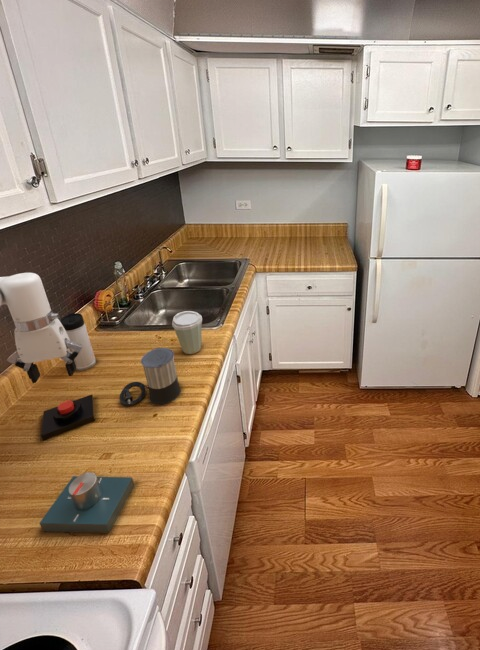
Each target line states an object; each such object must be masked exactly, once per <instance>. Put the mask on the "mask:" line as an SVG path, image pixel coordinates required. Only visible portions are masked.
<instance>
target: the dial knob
mask: <svg viewBox="0 0 480 650" xmlns="http://www.w3.org/2000/svg"><path fill="white" fill-rule="evenodd" d="M97 477H98V476H97V475H96V473H94V472H92V471H88V472H84V473H82V474H80V475H78V477H77V478H76V479H74V481H73V482H72V483H71V484H70V486H69V494H70V496H71V498H72V501H73V503H74V506H75V508H76V509H77V510H80V511H83V510H87V509H89V508H91V507H92V506H94V505H95V504H96V503H97V502H98V500H99V499H100V497H101V494H102V491H101V488H100V485H99V482H98V479H97Z"/></svg>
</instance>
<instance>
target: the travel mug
mask: <svg viewBox="0 0 480 650" xmlns="http://www.w3.org/2000/svg"><path fill="white" fill-rule="evenodd" d="M59 321H60V322H61V324H62V325H63V327H64V329H65V331H66V333H67V335H68V337H69V339H70V341H73V342H76V343H79V344H82V345H83V347H82V349H81V350H80V352H79V354H78V355H77V357H76V358H75V359H74V361H75V364H76V370H75V371H78V372H82V371H87V370H90V369H92V368H93V367H94V366H95V365H96V364H97V360H96V357H95V353H94V350H93V346H92V343H91V340H90V336H89V333H88V330H87V329H88V328H87V326H86V322H85V320H84V317H83V314H81V313H77V312H70V313H68V314H67V315H65V316H63V317H62V318H61V319H60V320H59ZM68 350H69V351H70V352H72V353H73V352H74V351H75V350H74V349H73V348H69V349H68Z"/></svg>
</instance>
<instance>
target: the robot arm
mask: <svg viewBox="0 0 480 650" xmlns="http://www.w3.org/2000/svg"><path fill="white" fill-rule="evenodd" d="M3 305H7V308H8V311H9V313H10V316H11V318H12V321H13V324H14V327H15V329H14V333H13V334H14V342H15V347H16V350H15V351H14V352H13V353H12V354H10V356H9V357H8V358H7V359H6V361H7V362H9V363H10V364H12V365H14V366H15V367H17V368H20V369H22V371H23V372H26V374H27V376H28V378H29V379H30V380H31V383H32V384H36V383H37V382H38V381H39V379H40V377H41V372H40V370H39V366H38V365H37V364H36V363H39V362H43V361H44V362H46V361H51V360H57V359H60V360H62V361H64V362H65V365H64V366H65V369H66V372H67V375H68V376H69V377H73V375H74V373H75V372H76V371H77V370H76V364H75V361H74V359H75V358H76V357H77V355H78V354H79V352H80V350H81V349H82V347H83V345H82V344H79V343H76V342H73V341H70V339H69V337H68V335H67V333H66V331H65V329H64V327H63V325H62V324H61V322H60V321H61V320H60V313H59V312H54V311H53V309H51V305H50V302H49V299H48V297H47V294H46V291H45V286H44V284H43V281H42V279H41V277H40V276H39V274H37V273H35V272H21V273H16V274H12V275H9V276H7V275H6V276H0V307H1V306H3ZM69 348H73V349H74V350H75V351H74V352H73V353H72V352H70V351H69Z"/></svg>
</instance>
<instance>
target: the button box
mask: <svg viewBox="0 0 480 650" xmlns="http://www.w3.org/2000/svg"><path fill="white" fill-rule="evenodd" d="M70 401H73V404H74V406H75V407H74V409H73V410H72V411H71V412H69V413H67V414H64V415H61V414H60V413H59V411H58V406H55V407H52V408H49V409H46V410H43V414H42V422H41V430H40V431H41V432H40V437H41V440H42V441H47V440H50V439H52V438H54V437H57V436H60V435H63V434H64V433H68V432H70V431H72V430H75V429H78V428H81V427H83V426H85V425H88V424H90V423H93V422H96V412H95V411H96V409H95V399H94V395H93V394H90V395H86V396H84V397H80V398H77V399H71V400H70Z"/></svg>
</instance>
